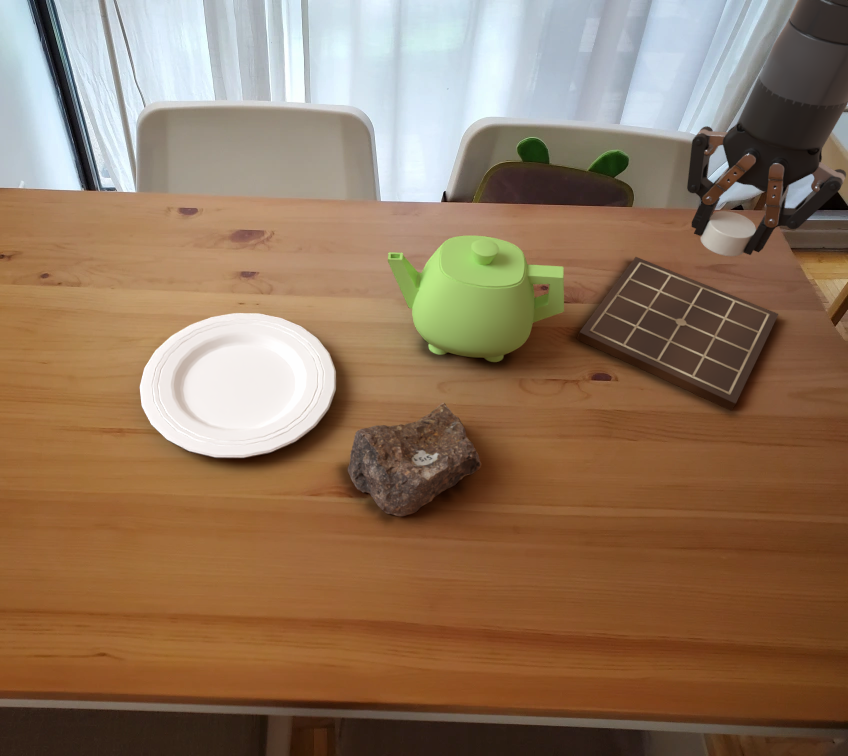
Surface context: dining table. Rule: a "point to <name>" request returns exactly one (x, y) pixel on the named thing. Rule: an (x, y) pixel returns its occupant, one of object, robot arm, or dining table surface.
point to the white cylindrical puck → (727, 233)
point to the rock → (412, 460)
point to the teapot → (477, 296)
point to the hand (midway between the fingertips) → (724, 240)
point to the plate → (238, 385)
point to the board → (680, 331)
